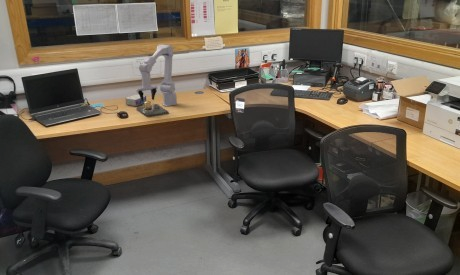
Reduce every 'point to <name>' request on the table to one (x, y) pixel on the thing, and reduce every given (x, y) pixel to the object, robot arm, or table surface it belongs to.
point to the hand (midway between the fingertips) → (147, 100)
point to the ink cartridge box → (135, 100)
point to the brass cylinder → (147, 105)
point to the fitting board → (156, 111)
